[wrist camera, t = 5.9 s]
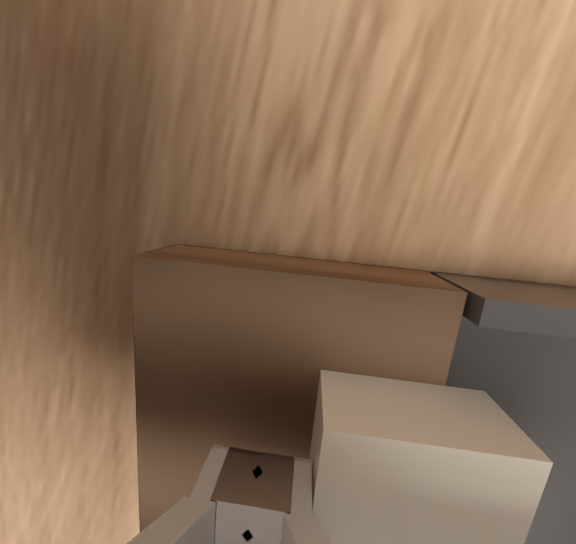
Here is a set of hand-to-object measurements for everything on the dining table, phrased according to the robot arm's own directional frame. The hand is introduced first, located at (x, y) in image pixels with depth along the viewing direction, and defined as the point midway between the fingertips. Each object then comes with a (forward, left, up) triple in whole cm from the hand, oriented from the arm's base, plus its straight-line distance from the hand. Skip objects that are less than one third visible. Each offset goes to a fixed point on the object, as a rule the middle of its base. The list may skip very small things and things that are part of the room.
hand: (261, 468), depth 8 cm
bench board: (+5, 0, -4) cm, 7 cm away
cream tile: (0, +4, -1) cm, 4 cm away
